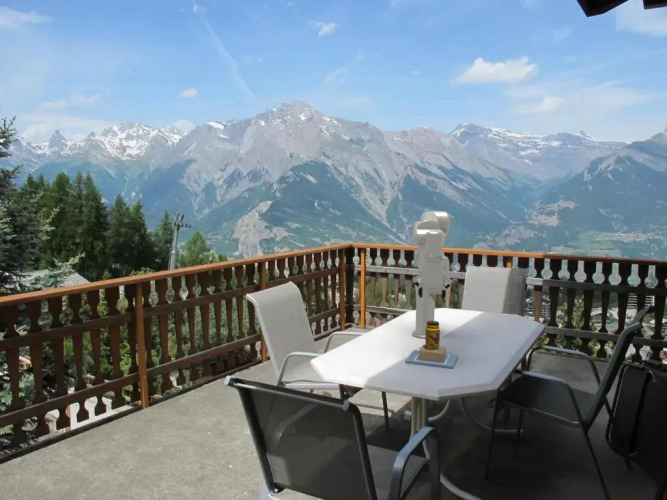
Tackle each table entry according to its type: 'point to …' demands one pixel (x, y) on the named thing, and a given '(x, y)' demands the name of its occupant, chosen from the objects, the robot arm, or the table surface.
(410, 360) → the board
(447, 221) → the robot arm
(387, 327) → the table surface
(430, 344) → the condiment
